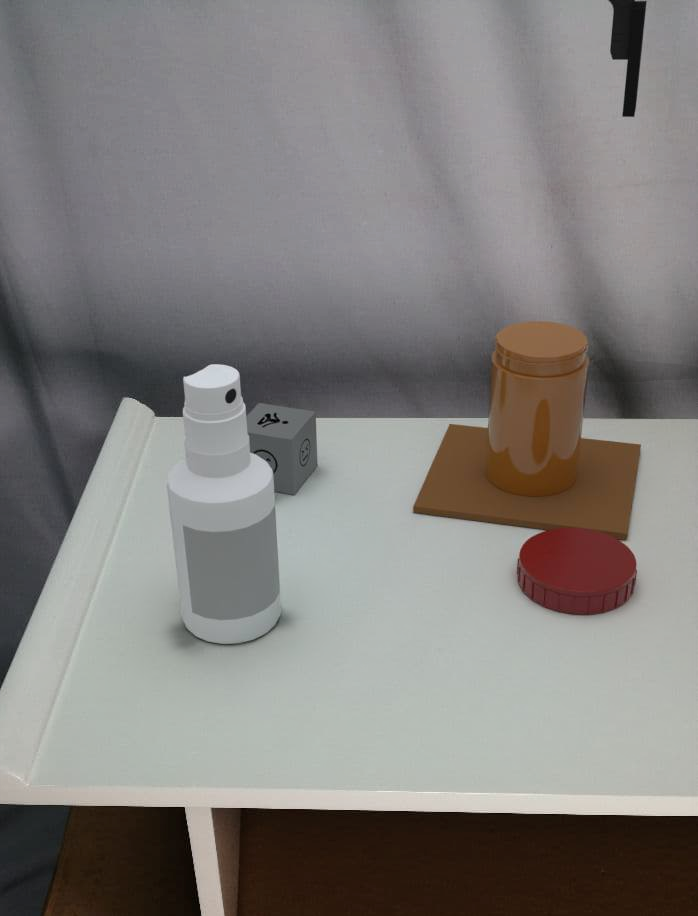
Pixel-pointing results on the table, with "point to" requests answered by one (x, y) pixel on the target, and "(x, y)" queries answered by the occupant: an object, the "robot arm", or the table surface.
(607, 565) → the lid
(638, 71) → the robot arm
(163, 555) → the table surface
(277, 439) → the gray cube
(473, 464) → the mat
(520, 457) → the jar
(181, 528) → the spray bottle
